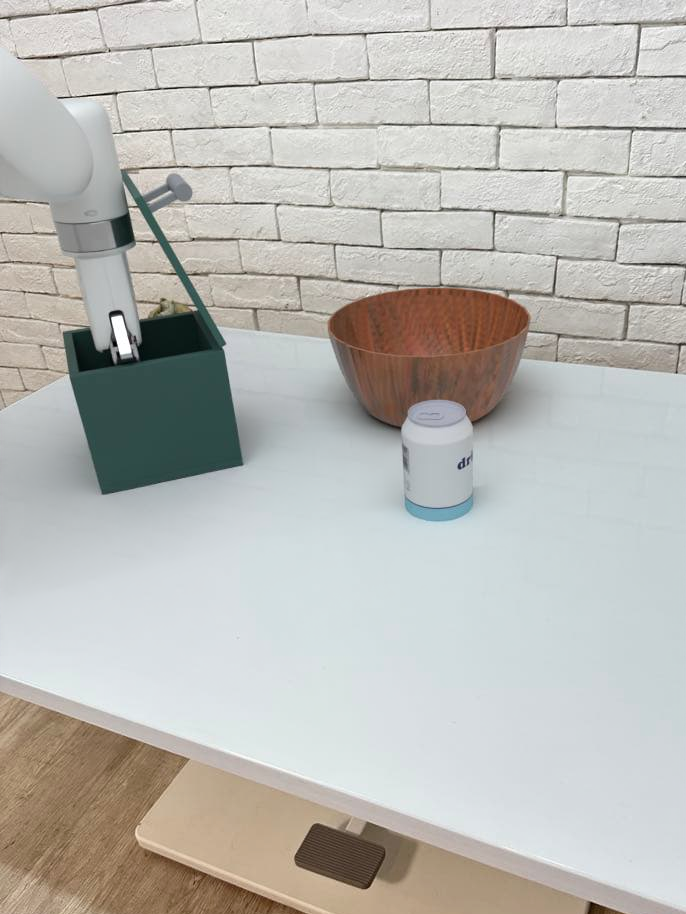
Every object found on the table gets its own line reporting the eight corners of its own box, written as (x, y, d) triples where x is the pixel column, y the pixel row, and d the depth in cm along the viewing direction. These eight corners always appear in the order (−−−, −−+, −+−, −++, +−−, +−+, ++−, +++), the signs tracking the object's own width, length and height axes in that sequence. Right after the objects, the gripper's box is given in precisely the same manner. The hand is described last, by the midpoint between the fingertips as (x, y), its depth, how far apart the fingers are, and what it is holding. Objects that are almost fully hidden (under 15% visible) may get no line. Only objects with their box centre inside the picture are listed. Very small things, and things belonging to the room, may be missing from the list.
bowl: (427, 470, 96) (424, 375, 90) (296, 407, 112) (286, 322, 106) (567, 402, 110) (573, 315, 104) (433, 353, 126) (431, 276, 119)
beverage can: (466, 540, 84) (465, 430, 78) (398, 533, 86) (392, 425, 79) (477, 504, 90) (478, 399, 83) (414, 498, 91) (409, 394, 85)
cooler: (102, 495, 95) (69, 377, 87) (91, 439, 107) (62, 331, 99) (243, 464, 99) (224, 350, 92) (218, 415, 111) (199, 309, 103)
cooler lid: (134, 199, 81) (186, 171, 81) (118, 173, 93) (163, 149, 93) (220, 348, 91) (266, 322, 92) (196, 307, 103) (236, 285, 104)
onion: (212, 344, 133) (203, 293, 129) (166, 358, 129) (155, 306, 124) (186, 333, 138) (177, 283, 133) (142, 346, 133) (130, 296, 129)
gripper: (54, 221, 94) (94, 376, 104) (61, 259, 80) (107, 432, 90) (124, 212, 96) (156, 365, 106) (142, 248, 82) (178, 419, 92)
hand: (133, 394), depth 98 cm, fingers closed on cup, 5 cm apart
